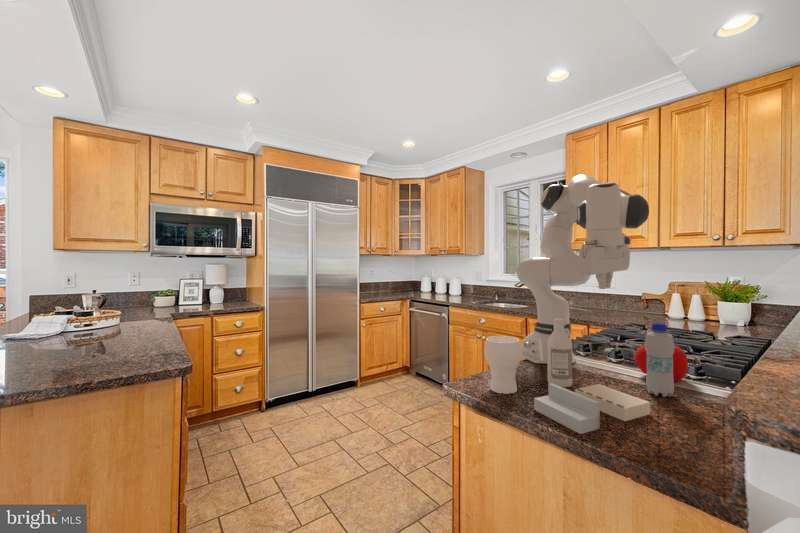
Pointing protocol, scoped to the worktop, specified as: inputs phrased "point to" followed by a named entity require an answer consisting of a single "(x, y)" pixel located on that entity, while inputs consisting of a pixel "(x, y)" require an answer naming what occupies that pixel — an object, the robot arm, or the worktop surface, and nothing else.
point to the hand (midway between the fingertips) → (604, 288)
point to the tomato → (678, 362)
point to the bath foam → (559, 356)
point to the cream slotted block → (616, 402)
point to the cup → (503, 362)
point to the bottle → (659, 361)
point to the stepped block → (569, 409)
